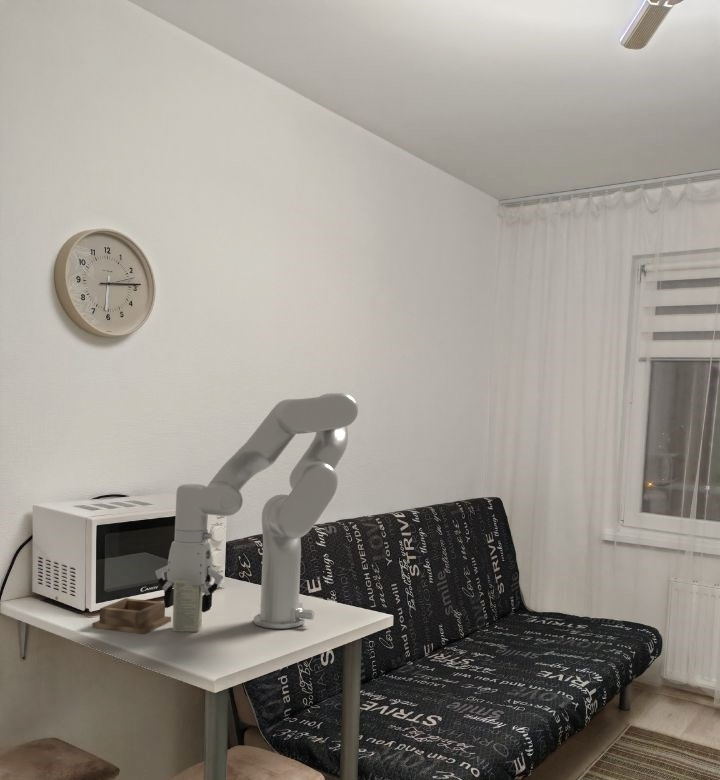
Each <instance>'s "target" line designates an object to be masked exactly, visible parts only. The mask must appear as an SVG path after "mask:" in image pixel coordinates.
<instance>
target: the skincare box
mask: <svg viewBox="0 0 720 780" xmlns="http://www.w3.org/2000/svg"><path fill="white" fill-rule="evenodd" d="M173 589H174V599H173V606H172V607H173V608H172V609H173V610H172V632H191V633H193V632H195V633H196V632H197V633H199V631H200V630H201V628H202V625H203V612H202V596H203V590H202V589H201V587H200V586H193V585H188V583H187V581H185V580H174V586H173Z"/></svg>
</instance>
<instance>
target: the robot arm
mask: <svg viewBox="0 0 720 780" xmlns="http://www.w3.org/2000/svg"><path fill="white" fill-rule="evenodd" d="M358 413H359V407H358V404H357V401H356V400H355V398H354V397H352V396H351V395H350V394H348V393H343V392H334V393H332V392H331V393H325V394H322V395H321V394H320V396H317V397H316V396H315V397H307V398H294V399H293V398H291V399H290V398H288V399H282V400H281V401H279V402H278V403H277V404H276V405H274V407H273V408H272V409H271V410H270V411H269V413H268V414H267V415H266V417H265V419H264V420H263V421H262V422H261V423H260V425H259V426H258V427H257V428H256V430H255V431H254V432H253V433H252V435H251V436H250V437H249V439H248V440H247V441H246V442H245V443H244V444H243V445H242V446H241V447H240V448H238V450H237V451H236V452H235V453H234V454H233V455H232V456H231V457H230V458H229V459H228V460H227V461H226V462H225V463H224V465H222V467H220V469H219V470H218V472H217V473H216V474H215V476H213V478H212V479H211V481H210V482H209V483H208V485H207V486H206V485H205V484H199V483H197V484H196V483H187V484H180V485H179V486H178V487H177V490H176V493H175V494H176V498H175V499H176V500H175V519H174V541H172V542H171V545H170V548H169V551H168V552H169V553H168V560H167V565H165V566H163V567H160V568H158V569H156V570H155V571H154V572H155V576H156V578H157V581H158V583H159V585H160V586H161V587H162V590H163V591H164V595H163V602H164V603H165V609H169V608H171V607H173V599H174V580H185V581H187V583H188V585H193V586H200V587H201V589H202V593H204V594H202V613H206V612H208V611H210V610H211V607H212V603H213V594H214V593H215V591H216V590H217V589H218V588H219V587H220V585H221V584H222V582H223V579H224V576H223V575H222V574H221V573H219V572H218V571H216V570H215V569H213V557H212V556H213V555H212V547H211V543H210V541H209V542H208V540H209V539H212V537H213V536H212V533H211V532H208V530H209V529H208V515H211V516H218V517H230V516H233V515H236V514H237V513H238V512H239V511H240V510H241V508H242V506H243V502H244V501H243V494H242V493H241V489H243V487H244V486H245V485H246V484H247V483H248V482H249V480H251V479H252V478H253V477H254V476H256V475H257V474H258V473H260V472H262V471H264V470H266V469H267V468H270V467H271V466H272V465H273V464H275V462H276V461H277V459H278V458H279V457H280V455H281V454H282V453H283V452H284V450H285V449H286V448H287V447H288V445H289V444H290V442H291V441H292V440H293V439H294V437H295V436H296V435H300V434H309V433H310V434H312V433H315V434H314V435H315V436H314V438H313V440H312V442H311V443H310V445H309V446H308V448H307V450H306V451H305V452H304V454H303V455H302V456H301V458H300V459H299V461H298V462H297V464H296V465H295V466H294V468H293V469H292V471H291V472H290V475H289V486H290V487H291V489H292V490H291V491H290V493H289V495H287V494H277V495H274V496H272V497H271V498H269V499H268V500H267V501H266V503H265V504H264V506H263V508H262V511H261V531H262V560H261V561H262V563H261V585H260V587H261V589H260V610H259V611H260V613H258V614H256V615H255V616H254V617H253V623H254V624H255V625H257V626H258V627H263V628H267V629H277V630H279V629H281V630H283V629H284V630H285V629H293V628H297V627H300V626H302V625H304V623H305V622H306V621H305V620H311V621H312V620H314V619H315V611H313V609H305V608H304V607H303V602H300V582H301V581H300V580H301V561H302V560H301V559H302V556H301V555H302V543H301V541H302V540H301V538H303V537H304V536H305V535H307V534H308V533H309V532H310V531H311V530H312V528H314V526H315V524H316V523H317V522H318V520H319V518H320V517H321V516H322V514H323V512H324V511H325V510H326V508H327V507H328V505H329V503H330V502H331V501H332V499H333V497H334V496H335V493H336V492H337V488H338V483H339V481H338V480H339V479H338V475H337V472H336V470H335V468H336V467H337V465H338V464H339V461H340V460H341V458H342V457H343V455H344V454H345V452H346V450H347V446H348V441H349V440H348V439H349V438H348V437H349V436H348V435H349V431H348V426H350V425H352V424H353V423H354V422H355V420H356V419H357V417H358ZM165 573H166V577H165ZM213 579H214V582H213V581H212V580H213ZM211 582H213V583H211Z"/></svg>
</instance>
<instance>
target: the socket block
mask: <svg viewBox="0 0 720 780" xmlns="http://www.w3.org/2000/svg"><path fill="white" fill-rule="evenodd" d="M165 613H166V608H165V603H164V601H163V602H162V601H154V600H146V599H138V598H135V599H134V598H129V597H128V598H127V597H126V598H123V599H121V600H120V599H119V600H118V601H116V602H112V603H110V604H107V605H105V606H102V607H100V608H99V619H98V620H97V621H95V622H92V625H91V626H92V627H93V628H92V629H103V630H108V631H109V630H111V631H119V632H127V633H135V634H142V635H143V634H144V635H146V634H148V633H150V632H151V631H155V630H156V629H158V628H160V627H162V626H164V625H166V624H168V623H170V622H171V621H172V617H171V616H166V614H165Z"/></svg>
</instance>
